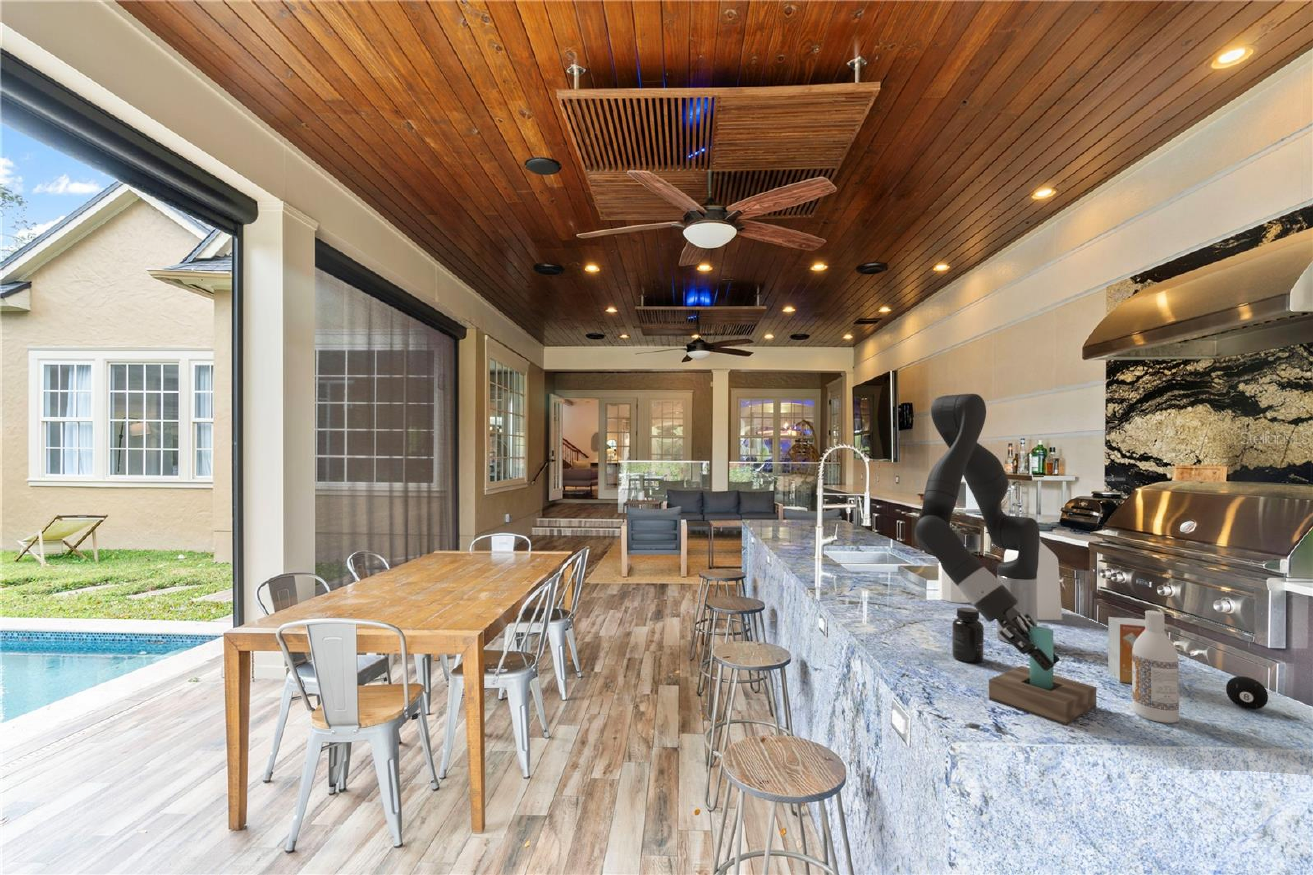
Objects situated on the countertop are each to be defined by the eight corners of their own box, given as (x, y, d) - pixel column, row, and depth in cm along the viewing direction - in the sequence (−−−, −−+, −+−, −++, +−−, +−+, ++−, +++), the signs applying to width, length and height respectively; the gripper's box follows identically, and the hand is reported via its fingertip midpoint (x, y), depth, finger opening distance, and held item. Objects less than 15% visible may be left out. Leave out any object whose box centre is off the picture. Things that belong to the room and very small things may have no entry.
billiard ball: (1225, 707, 120) (1225, 677, 120) (1226, 699, 124) (1226, 669, 124) (1268, 717, 116) (1268, 686, 116) (1268, 708, 120) (1267, 677, 120)
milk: (1062, 619, 181) (1061, 533, 181) (1023, 619, 181) (1023, 533, 182) (1037, 609, 193) (1037, 528, 193) (1001, 608, 193) (1001, 527, 194)
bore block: (1021, 684, 131) (1021, 665, 131) (1096, 707, 120) (1096, 687, 120) (989, 699, 123) (988, 679, 123) (1065, 725, 112) (1065, 703, 112)
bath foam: (1133, 705, 121) (1132, 605, 121) (1178, 715, 116) (1177, 611, 117) (1131, 716, 116) (1131, 612, 116) (1179, 727, 111) (1178, 619, 111)
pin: (1035, 688, 124) (1035, 625, 125) (1056, 694, 121) (1056, 630, 121) (1026, 692, 122) (1026, 628, 122) (1048, 699, 119) (1047, 633, 119)
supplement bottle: (987, 664, 143) (987, 614, 143) (956, 662, 144) (956, 612, 145) (978, 655, 150) (978, 606, 150) (949, 653, 151) (948, 605, 151)
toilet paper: (966, 596, 209) (966, 561, 209) (976, 604, 199) (976, 567, 199) (935, 594, 211) (935, 560, 211) (943, 602, 201) (943, 566, 201)
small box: (1119, 682, 132) (1119, 623, 133) (1107, 672, 138) (1107, 615, 139) (1164, 687, 130) (1163, 627, 130) (1149, 676, 136) (1149, 619, 136)
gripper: (989, 589, 122) (1060, 664, 113) (1010, 578, 132) (1076, 647, 123) (962, 610, 126) (1028, 684, 117) (984, 598, 136) (1046, 666, 127)
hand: (1052, 665), depth 120 cm, fingers closed on pin, 4 cm apart
